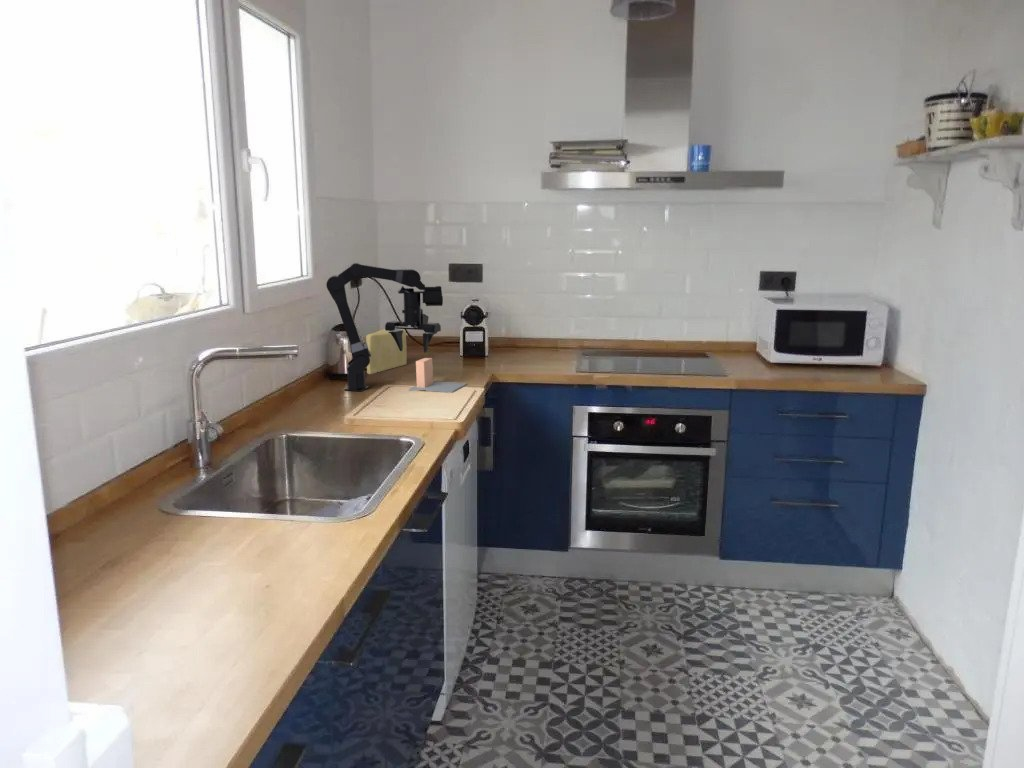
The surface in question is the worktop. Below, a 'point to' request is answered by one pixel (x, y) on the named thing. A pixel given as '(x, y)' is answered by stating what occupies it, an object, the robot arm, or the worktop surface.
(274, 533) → the worktop surface
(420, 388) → the mat
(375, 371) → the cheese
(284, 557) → the worktop surface
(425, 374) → the slab
